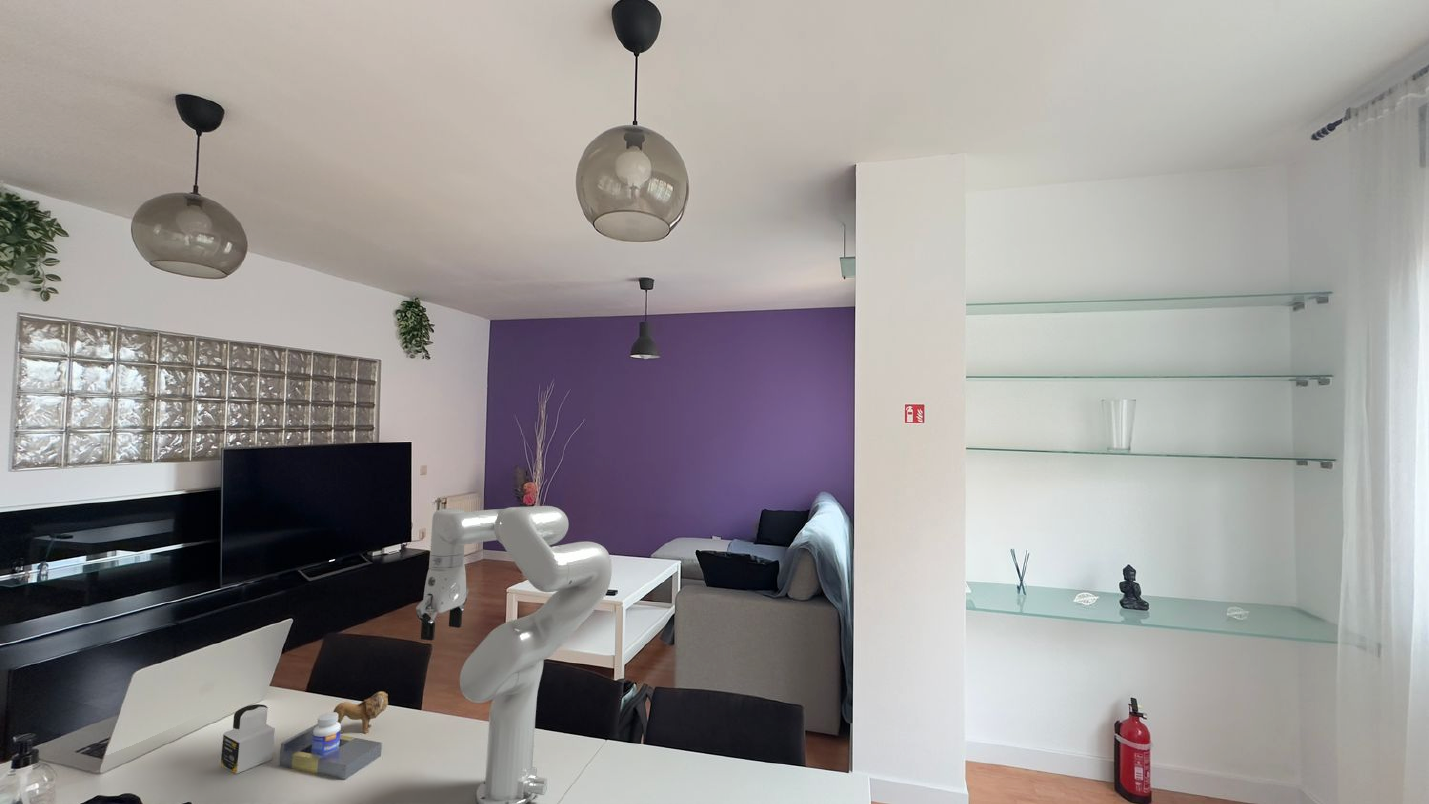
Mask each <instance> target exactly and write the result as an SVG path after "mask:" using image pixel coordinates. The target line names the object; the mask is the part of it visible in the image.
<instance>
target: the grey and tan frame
mask: <svg viewBox="0 0 1429 804" xmlns="http://www.w3.org/2000/svg"><path fill="white" fill-rule="evenodd" d="M317 726H318V723H317V724H315V725H312V726H311V727H309V728H307V729H305V730H303V731H301V732H299V733H297V734H295V735H294V736H292V737H290V738H288V739H286V740H284V741H282V742H280V750H279V762H278V766H279V767H281V768H282V767H283V768H288V769H292V770H297V771H301V772H307V773H310V774H317V775H320V776H321V775H322V776H326V777H331V778H334V779H335V778H336V779H340V780H345V781H346V780H347V779H348V778H350V777H351V776H354V775H355V774H356V773H357V772H359V771H361V770H362V769H364V768H365V767H367V766H368V765H370V764H371V763H372V762H375V761H376V760H377V759H378V758H380V757H381V756H382V748H383V747H382V745H383V742H379V741H375V740H370V739H369V740H368V739H365V738H358V737H352V736H348V735H343V734H340V744H339V748H337V749H336V750H334V751H332V752H331V753H329V754H327V755H326V756H320V755H315V754H311V752H312V740H313V731H314V729H315V727H317Z"/></svg>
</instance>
